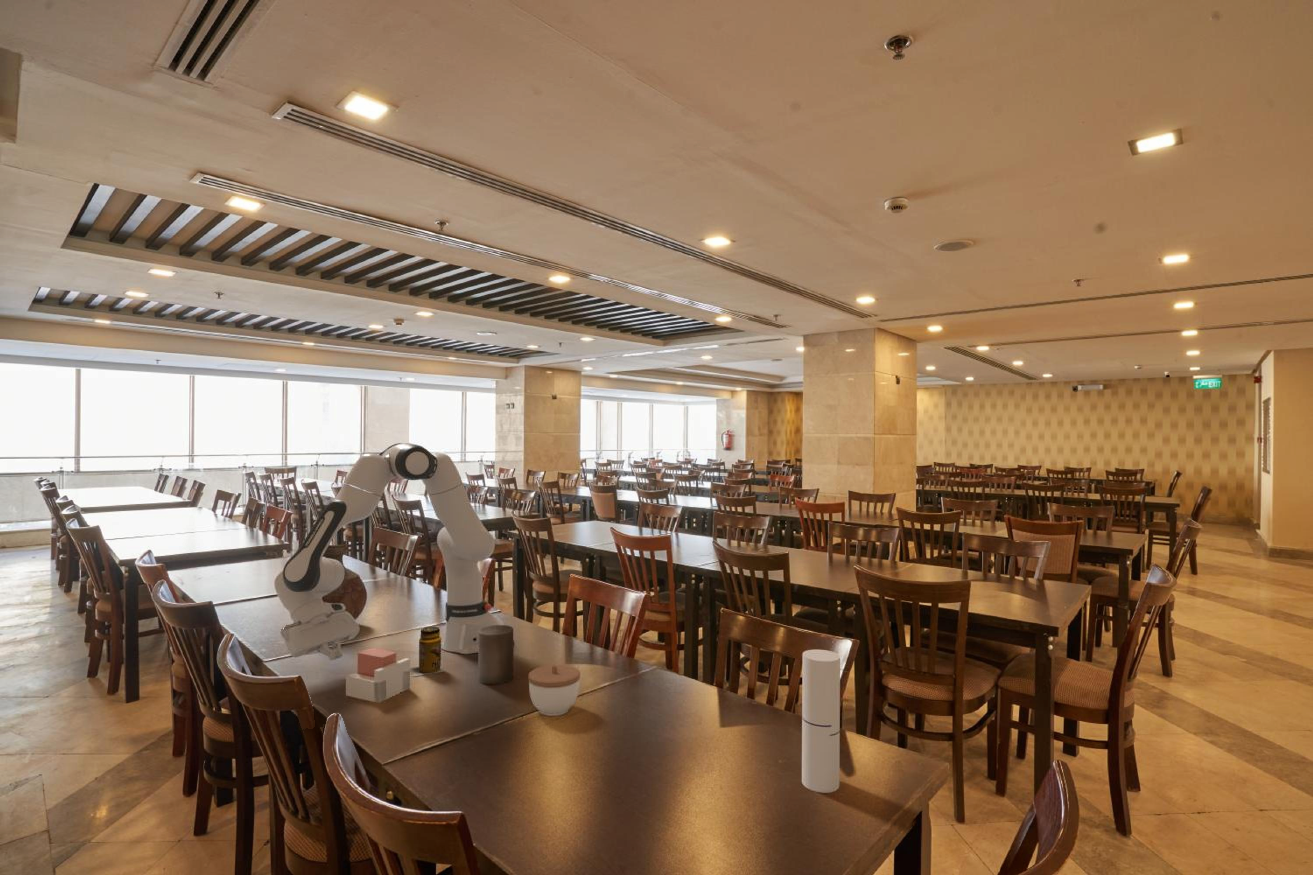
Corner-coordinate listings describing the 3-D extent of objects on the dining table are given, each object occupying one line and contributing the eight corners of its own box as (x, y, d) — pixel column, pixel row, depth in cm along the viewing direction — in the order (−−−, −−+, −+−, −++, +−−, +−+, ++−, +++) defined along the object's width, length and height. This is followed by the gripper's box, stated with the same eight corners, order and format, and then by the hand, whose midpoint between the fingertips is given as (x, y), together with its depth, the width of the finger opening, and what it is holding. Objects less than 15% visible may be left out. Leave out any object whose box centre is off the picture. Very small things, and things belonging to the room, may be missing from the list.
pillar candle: (520, 678, 185) (520, 624, 185) (490, 687, 178) (490, 631, 178) (500, 670, 192) (500, 618, 192) (470, 678, 184) (471, 624, 185)
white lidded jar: (588, 703, 167) (588, 660, 167) (565, 723, 155) (565, 677, 155) (543, 697, 171) (544, 654, 171) (518, 716, 159) (518, 670, 160)
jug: (379, 626, 235) (379, 542, 235) (320, 641, 217) (321, 550, 217) (343, 617, 247) (344, 537, 247) (285, 631, 229) (285, 544, 229)
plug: (357, 690, 174) (357, 652, 174) (371, 684, 178) (371, 647, 178) (382, 696, 170) (382, 657, 170) (395, 690, 175) (396, 652, 175)
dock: (345, 695, 172) (346, 664, 172) (378, 681, 181) (378, 652, 181) (378, 702, 167) (378, 671, 167) (409, 688, 176) (410, 658, 177)
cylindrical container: (797, 774, 133) (797, 649, 133) (831, 773, 133) (832, 649, 133) (808, 793, 125) (809, 661, 126) (844, 791, 126) (845, 660, 126)
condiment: (444, 671, 190) (445, 629, 190) (414, 677, 185) (414, 634, 185) (438, 664, 196) (438, 623, 196) (408, 669, 191) (408, 628, 192)
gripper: (283, 620, 175) (308, 662, 171) (348, 602, 193) (372, 640, 189) (272, 635, 177) (297, 677, 172) (337, 615, 195) (361, 653, 191)
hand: (337, 657), depth 181 cm, fingers closed
